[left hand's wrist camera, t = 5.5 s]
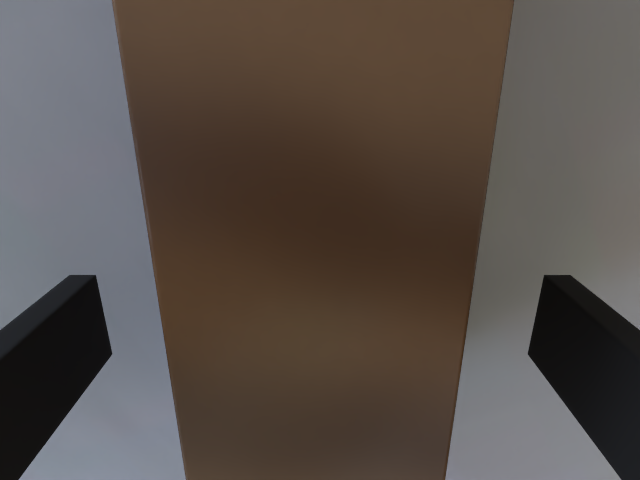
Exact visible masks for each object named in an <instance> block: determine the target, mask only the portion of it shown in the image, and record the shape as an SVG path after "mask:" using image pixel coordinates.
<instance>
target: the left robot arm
mask: <svg viewBox="0 0 640 480" xmlns="http://www.w3.org/2000/svg"><path fill="white" fill-rule="evenodd" d="M111 355H112V350H111V346H110V341H109V336H108V331H107V327H106V322H105V317H104V312H103V307H102V303H101V298H100V293H99V288H98V283H97V279H96V275H69V276H68V277H67V278H65V279H64V280H63V281H62V282H60V283H59V284H58V285H57V286H55V287H54V288H53V289H52V290H50V291H49V292H48V293H47V294H45V295H44V296H43V297H42V298H40V299H39V300H38V301H36V302H35V303H34V304H33V305H31V306H30V307H29V308H28V309H26V310H25V311H24V312H23V313H21V314H20V315H19V316H18V317H16V318H15V319H14V320H13V321H11V322H10V323H9V324H8V325H6V326H5V327H4V328H3V329H1V330H0V480H19V478H20V477H21V476H22V474H23V473H24V472H25V470H26V469H27V467H28V466H29V465H30V463H31V462H32V461H33V459H34V458H35V457H36V455H37V454H38V453H39V451H40V450H41V449H42V447H43V446H44V445H45V443H46V442H47V441H48V439H49V438H50V437H51V435H52V434H53V433H54V431H55V430H56V429H57V427H58V426H59V425H60V423H61V422H62V421H63V419H64V418H65V417H66V415H67V414H68V413H69V411H70V410H71V409H72V407H73V406H74V405H75V403H76V402H77V401H78V399H79V398H80V397H81V395H82V394H83V393H84V391H85V390H86V389H87V387H88V386H89V384H90V383H91V382H92V380H93V379H94V378H95V376H96V375H97V374H98V372H99V371H100V370H101V368H102V367H103V366H104V364H105V363H106V362H107V360H108V359H109V358H110V356H111ZM528 355H529V356H530V358H531V359H532V360H533V362H534V363H535V364H536V366H537V367H538V368H539V370H540V371H541V372H542V374H543V375H544V376H545V378H546V379H547V380H548V382H549V383H550V384H551V386H552V387H553V389H554V390H555V391H556V393H557V394H558V395H559V397H560V398H561V399H562V401H563V402H564V403H565V405H566V406H567V407H568V409H569V410H570V411H571V413H572V414H573V415H574V417H575V418H576V419H577V421H578V422H579V423H580V425H581V426H582V427H583V429H584V430H585V431H586V433H587V434H588V435H589V437H590V438H591V439H592V441H593V442H594V443H595V445H596V446H597V447H598V449H599V450H600V451H601V453H602V454H603V455H604V457H605V458H606V459H607V461H608V462H609V463H610V465H611V466H612V467H613V469H614V470H615V472H616V473H617V474H618V476H619V477H620V478H621V480H640V330H639V329H637V328H636V327H635V326H634V325H632V324H631V323H630V322H629V321H627V320H626V319H625V318H624V317H622V316H621V315H620V314H619V313H617V312H616V311H615V310H614V309H612V308H611V307H610V306H609V305H607V304H606V303H605V302H604V301H602V300H601V299H600V298H598V297H597V296H596V295H595V294H593V293H592V292H591V291H590V290H588V289H587V288H586V287H585V286H583V285H582V284H581V283H580V282H578V281H577V280H576V279H575V278H573V277H572V276H571V275H544V279H543V283H542V288H541V293H540V298H539V303H538V307H537V312H536V317H535V322H534V326H533V331H532V336H531V341H530V346H529V350H528Z"/></svg>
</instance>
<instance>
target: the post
mask: <svg viewBox="0 0 640 480" xmlns="http://www.w3.org/2000/svg"><path fill="white" fill-rule="evenodd" d="M112 4H113V11H114V17H115V24H116V30H117V36H118V43H119V49H120V56H121V62H122V69H123V75H124V82H125V88H126V95H127V101H128V108H129V114H130V121H131V127H132V133H133V140H134V146H135V153H136V159H137V166H138V172H139V179H140V185H141V192H142V198H143V205H144V211H145V218H146V224H147V230H148V237H149V243H150V250H151V256H152V263H153V269H154V276H155V282H156V289H157V295H158V302H159V308H160V315H161V321H162V327H163V334H164V340H165V347H166V353H167V360H168V366H169V373H170V379H171V386H172V392H173V399H174V405H175V411H176V418H177V424H178V431H179V437H180V444H181V450H182V457H183V463H184V470H185V476H186V480H445V476H446V469H447V462H448V456H449V449H450V442H451V435H452V428H453V421H454V414H455V407H456V400H457V393H458V386H459V379H460V372H461V365H462V358H463V351H464V345H465V338H466V331H467V324H468V317H469V310H470V303H471V296H472V289H473V282H474V275H475V268H476V261H477V254H478V247H479V240H480V234H481V227H482V220H483V213H484V206H485V199H486V192H487V185H488V178H489V171H490V164H491V157H492V150H493V143H494V136H495V129H496V123H497V116H498V109H499V102H500V95H501V88H502V81H503V74H504V67H505V60H506V53H507V46H508V39H509V32H510V25H511V18H512V12H513V5H514V0H112Z"/></svg>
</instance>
